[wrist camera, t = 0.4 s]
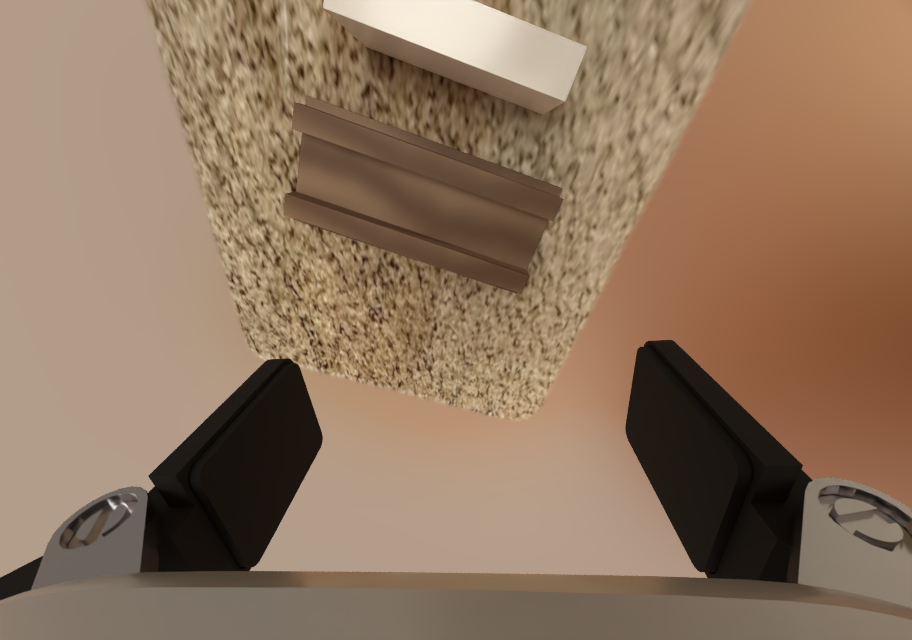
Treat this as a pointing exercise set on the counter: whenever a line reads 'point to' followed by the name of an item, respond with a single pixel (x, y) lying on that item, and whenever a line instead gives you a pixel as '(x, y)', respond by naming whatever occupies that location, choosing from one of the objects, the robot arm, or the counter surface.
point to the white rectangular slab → (468, 46)
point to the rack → (417, 196)
